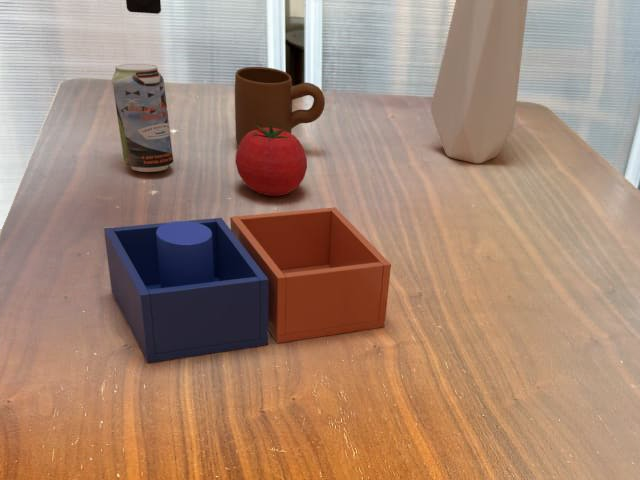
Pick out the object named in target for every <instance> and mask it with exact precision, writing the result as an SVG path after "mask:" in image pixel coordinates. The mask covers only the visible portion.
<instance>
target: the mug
mask: <svg viewBox="0 0 640 480" xmlns="http://www.w3.org/2000/svg"><path fill="white" fill-rule="evenodd" d="M234 77H235V78H234V80H235V81H234V117H235V118H234V120H235V121H234V123H235V143H236V147H238V146H239V144H240V142H241V140H242V139H243V138H244V136H245V135H246V134H247V133H249V132H250V131H253V130H256V129H260V128H258V127H257V126H259V127H261V128H269V126H270V125H272V127H273V128H277V129H281V130H282V129H285V130H284V131H286V132H289V133H291V134H292V129H294V128H295V127H297V126H299V125H301V124H310V123H314V122H315V121H317V120H318V119H319V118H320V117H321V115H322V114H323V113H324V111H325V105H326V101H325V95H324V92H323V91H322V89H321V88H320V87H319V86H317V85H315V84H314V83H311V82H302V83H299V84H296V85H293V78H292V76H291V74H289V73H288V72H286V71H284V70H282V69H281V70H280V69H276V68H272V67H265V66H248V67H242V68H239V69H238V70H236V72H235V75H234ZM307 96H310V97H312V98H313V102H312V105H311V107H310V108H307V109H297V110H293V101H294V100H297V99H300V98H303V97H307ZM255 125H256V126H255Z"/></svg>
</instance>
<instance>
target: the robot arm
mask: <svg viewBox="0 0 640 480" xmlns="http://www.w3.org/2000/svg"><path fill="white" fill-rule="evenodd" d="M125 2H126V3H125V5H126V9H127V12H129V13H138V14H139V13H141V14H154V15H155V14H156V15H158V14H161V12H162V2H161V0H125Z"/></svg>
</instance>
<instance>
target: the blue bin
mask: <svg viewBox="0 0 640 480" xmlns="http://www.w3.org/2000/svg"><path fill="white" fill-rule="evenodd" d="M188 221H189V222H195V223H199V224H202V225H204V226H206V227H208V228H209V229H210V230H211V232H212V243H213V268H214V282H209V283H200V284H192V285H184V286H175V287H167V288H161V284H160V272H159V260H158V249H157V237H156V231H157V229H158V228H159V227H160V226H161V225H163V224H166V223H170V222H171V221H169V222H158V223H148V224H146V223H145V224H137V225H136V224H135V225H126V226H125V225H124V226H114V227H103V233H104V242H105V250H106V259H107V266H108V272H109V281H110V290H111V295H112V296H113V299H114V300H115V303H116V304H117V306H118V308H119V310H120V312H121V314H122V317H123V318H124V320H125V322H126V324H127V325H128V328H129V329H130V332H131V334H132V335H133V338H134V339H135V341H136V343H137V345H138V347H139V350H140V351H141V354H142V355H143V357H144V360H145V361H146V363H147V364H151V363H157V362H164V361H169V360H176V359H183V358H190V357H196V356H203V355H210V354H216V353H223V352H229V351H235V350H236V351H237V350H243V349H248V348H255V347H261V346H268V345H269V331H268V278H267V277H266V276H265V274H264V273H263V272H262V270H261V269H260V268H259V266H258V265H257V264H256V262H255V261H254V260H253V258H252V257H251V256H250V255H249V253H248V252H247V251H246V249H245V248H244V247H243V245H242V244H241V243H240V241H239V240H238V239H237V237H236V236H235V235H234V234H233V232H232V231H231V227H230V226H229V225H228V224H227V223H226V222H225V220H224V219H223V217H215V218H203V219H193V220H188Z"/></svg>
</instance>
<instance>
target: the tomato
mask: <svg viewBox="0 0 640 480" xmlns="http://www.w3.org/2000/svg"><path fill="white" fill-rule="evenodd" d="M255 126H256V125H255ZM257 127H258V128H260V129H256V130H253V131H250V132H249V133H247V134H246V135H245V136H244V138H243V139H242V140H241V142H240V144H239V146H237V149H236V152H235V165H236V166H235V167H236V170H237V173H238V176H239V177H240V178H241V180H242V181H243V183H244V184H245V185H246V186H247V187H249V188H250V189H251V190H252V191H254V192H256V193H258V194H260V195H264V196H270V197H278V196H284V195H287V194H289V193H291V192H292V191H294V190H295V189H297V188H298V187H299V186H300V184H302V181H304V178H305V176H306V173H307V169H308V159H307V154H306V151H305V149H304V147H303V145H302V143H301V142H300V140H299V139H298V138H297V136H296V135H294V134H293V133H292V132H291V133H289V132H286V131H284V130H285V129H282V130H281V129H277V128H273V127H272V125H270V126H269V128H261V127H259V126H257Z"/></svg>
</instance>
